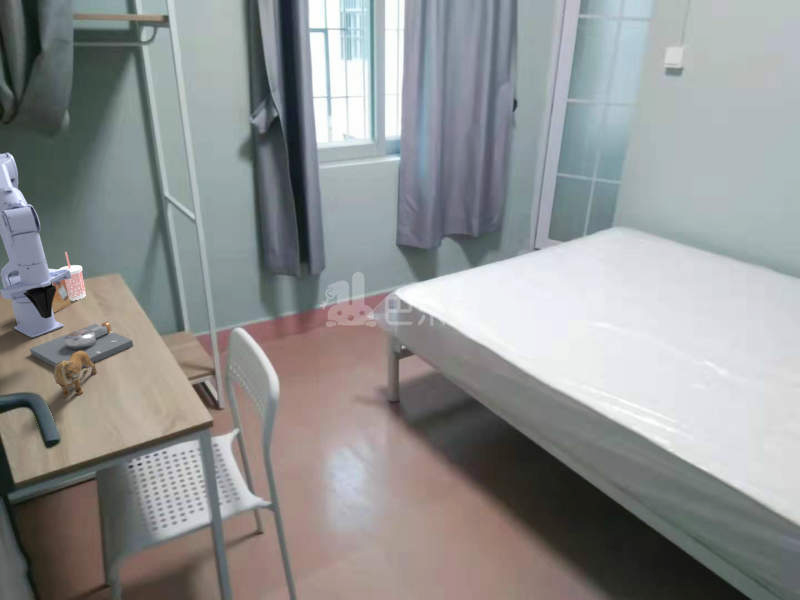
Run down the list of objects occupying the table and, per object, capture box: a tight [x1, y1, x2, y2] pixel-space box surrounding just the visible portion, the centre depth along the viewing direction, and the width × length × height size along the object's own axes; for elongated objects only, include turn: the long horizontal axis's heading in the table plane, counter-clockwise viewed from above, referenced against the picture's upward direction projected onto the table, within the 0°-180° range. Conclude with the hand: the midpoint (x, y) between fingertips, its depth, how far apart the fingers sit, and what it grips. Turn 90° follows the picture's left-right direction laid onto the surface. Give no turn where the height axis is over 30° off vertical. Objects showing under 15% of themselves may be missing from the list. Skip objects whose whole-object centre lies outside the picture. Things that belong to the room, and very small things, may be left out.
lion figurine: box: [52, 351, 98, 398], centre depth 120 cm, size 15×5×9 cm, turn 15°
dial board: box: [29, 323, 134, 369], centre depth 136 cm, size 16×16×2 cm
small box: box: [48, 268, 71, 314], centre depth 156 cm, size 8×6×10 cm
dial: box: [64, 321, 112, 350], centre depth 137 cm, size 11×6×2 cm, turn 152°
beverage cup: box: [59, 251, 87, 302], centre depth 162 cm, size 6×6×14 cm
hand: (46, 316), depth 132 cm, fingers closed
